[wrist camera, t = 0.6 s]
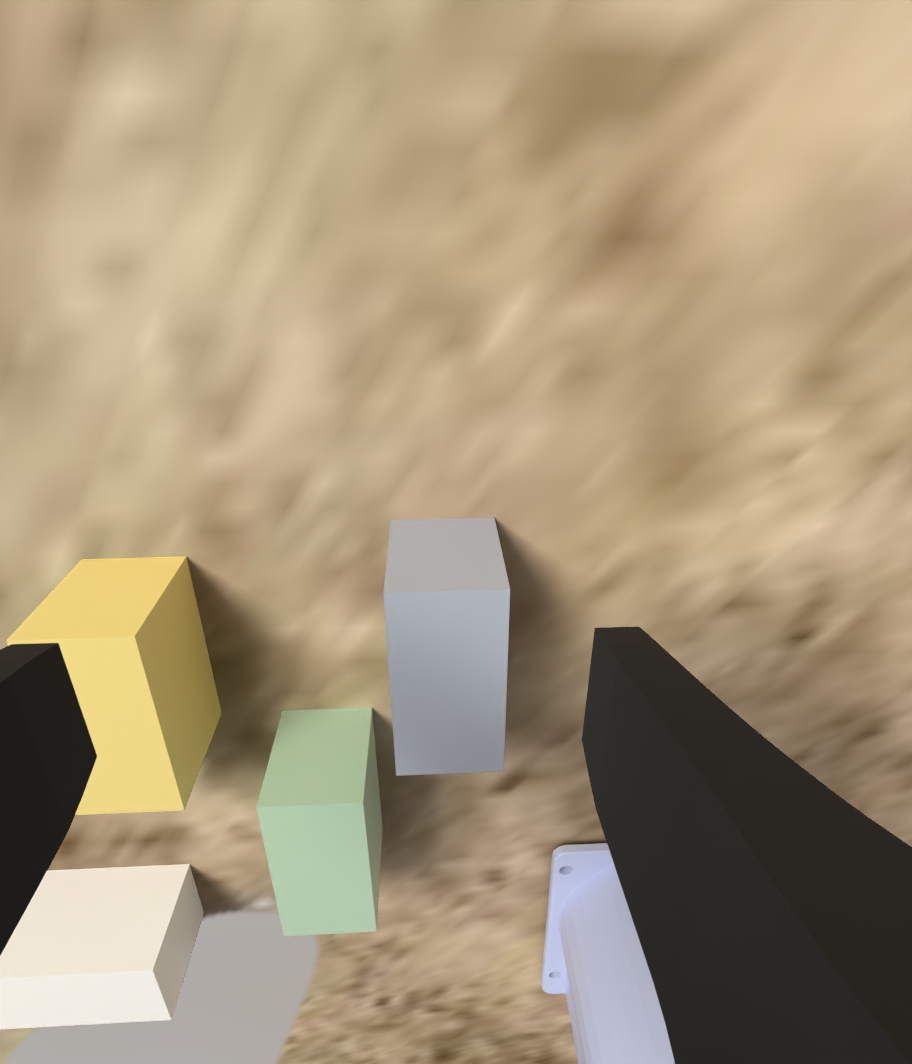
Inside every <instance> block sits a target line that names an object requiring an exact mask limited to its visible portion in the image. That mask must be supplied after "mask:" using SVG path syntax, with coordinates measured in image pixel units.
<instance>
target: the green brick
mask: <svg viewBox="0 0 912 1064" xmlns="http://www.w3.org/2000/svg"><path fill="white" fill-rule="evenodd" d="M256 808H257V813H258V818H259V822H260V827H261V832H262V837H263V841H264V846H265V851H266V855H267V860H268V865H269V869H270V874H271V879H272V884H273V888H274V893H275V898H276V902H277V907H278V912H279V916H280V921H281V926H282V931H283V935H284V936H297V935H316V934H335V933H354V932H373V931H377V915H378V898H379V882H380V865H381V848H382V832H383V827H382V816H381V804H380V793H379V781H378V770H377V758H376V747H375V735H374V724H373V712H372V707H369V708H343V709H316V710H290V711H282V713H281V717H280V721H279V725H278V728H277V732H276V736H275V740H274V743H273V747H272V751H271V754H270V758H269V762H268V766H267V769H266V773H265V777H264V781H263V784H262V788H261V792H260V796H259V799H258V803H257V807H256Z"/></svg>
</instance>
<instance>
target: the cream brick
mask: <svg viewBox="0 0 912 1064" xmlns="http://www.w3.org/2000/svg"><path fill="white" fill-rule="evenodd" d="M203 914H204V912H203V908H202V905H201V901H200V898H199V895H198V891H197V888H196V884H195V881H194V878H193V874H192V871H191V868H190V864H182V865H160V866H139V867H117V868H95V869H74V870H52V871H47V872H46V873H45V875H44V877H43V879H42V881H41V883H40V885H39V886H38V888H37V890H36V892H35V894H34V896H33V897H32V899H31V901H30V903H29V905H28V906H27V908H26V910H25V912H24V914H23V915H22V917H21V919H20V921H19V923H18V925H17V926H16V928H15V930H14V932H13V934H12V935H11V937H10V939H9V941H8V943H7V944H6V946H5V948H4V950H3V952H2V954H1V955H0V1029H14V1028H32V1027H50V1026H68V1025H86V1024H103V1023H104V1024H105V1023H123V1022H141V1021H160V1020H171V1019H172V1016H173V1012H174V1009H175V1006H176V1003H177V999H178V996H179V993H180V989H181V986H182V983H183V980H184V976H185V973H186V969H187V967H188V963H189V960H190V957H191V953H192V950H193V947H194V943H195V940H196V937H197V934H198V930H199V927H200V924H201V921H202V917H203Z"/></svg>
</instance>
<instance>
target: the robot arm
mask: <svg viewBox="0 0 912 1064" xmlns="http://www.w3.org/2000/svg"><path fill="white" fill-rule="evenodd" d="M582 742H583V747H584V752H585V757H586V763H587V768H588V773H589V778H590V782H591V787H592V792H593V796H594V801H595V806H596V810H597V813H598V816H599V819H600V823H601V826H602V829H603V832H604V835H605V838H606V841H607V843H595V844H574V845H562V846H559V847H557V848H556V849H555V850H554V851H553V854H552V864H551V875H550V886H549V898H548V909H547V920H546V931H545V943H544V954H543V965H542V976H541V983H542V989H543V990H544V991H545V992H546V993H549V994H560V993H566V998H567V1004H568V1009H569V1015H570V1020H571V1026H572V1032H573V1037H574V1043H575V1048H576V1054H577V1060H578V1064H912V847H911V846H909V845H908V844H906V843H905V842H903V841H902V840H900V839H899V838H897V837H896V836H894V835H893V834H892V833H890V832H889V831H887V830H886V829H884V828H883V827H881V826H880V825H878V824H877V823H875V822H874V821H873V820H871V819H870V818H868V817H867V816H865V815H864V814H863V813H861V812H860V811H859V810H857V809H856V808H854V807H853V806H852V805H850V804H849V803H847V802H846V801H845V800H843V799H842V798H841V797H839V796H838V795H837V794H835V793H834V792H833V791H831V790H830V789H829V788H827V787H826V786H825V785H824V784H822V783H821V782H820V781H818V780H817V779H816V778H815V777H813V776H812V775H811V774H809V773H808V772H807V771H806V770H804V769H803V768H802V767H800V766H799V765H798V764H797V763H795V762H794V761H793V760H791V759H790V758H789V757H788V756H786V755H785V754H784V753H783V752H781V751H780V750H779V749H778V748H776V747H775V746H774V745H773V744H772V743H770V742H769V741H768V740H767V739H765V738H764V737H763V736H762V735H761V734H759V733H758V732H757V731H756V730H755V729H753V728H752V727H751V726H750V725H749V724H747V723H746V722H745V721H744V720H743V719H742V718H740V717H739V716H738V715H737V714H736V713H735V712H734V711H732V710H731V709H730V708H729V707H728V706H727V705H725V704H724V703H723V702H722V701H721V700H720V699H719V698H717V697H716V696H715V695H714V694H713V693H712V692H711V691H710V690H708V689H707V688H706V687H705V686H704V685H703V684H702V683H701V682H700V681H698V680H697V679H696V678H695V677H694V676H693V675H692V674H691V673H690V672H689V671H687V670H686V669H685V668H684V667H683V666H682V665H681V664H680V663H679V662H678V661H676V660H675V659H674V658H673V657H672V656H671V655H670V654H669V653H668V652H667V651H666V650H664V649H663V648H662V647H661V646H660V645H659V644H658V643H657V642H656V641H655V640H654V639H652V638H651V637H650V636H649V635H648V634H647V633H646V632H644V631H643V630H642V629H641V628H640V627H613V628H595V632H594V641H593V649H592V658H591V666H590V675H589V684H588V692H587V701H586V710H585V718H584V727H583V735H582ZM96 758H97V754H96V751H95V748H94V745H93V743H92V740H91V737H90V734H89V731H88V728H87V725H86V722H85V719H84V716H83V713H82V710H81V708H80V705H79V702H78V699H77V696H76V693H75V690H74V687H73V684H72V681H71V678H70V675H69V672H68V670H67V667H66V664H65V661H64V658H63V655H62V652H61V649H60V646H59V643H38V644H11V645H9V646H7V647H5V648H3V649H1V650H0V955H1V954H2V952H3V950H4V948H5V946H6V944H7V943H8V941H9V939H10V937H11V935H12V934H13V932H14V930H15V928H16V926H17V925H18V923H19V921H20V919H21V917H22V915H23V914H24V912H25V910H26V908H27V906H28V905H29V903H30V901H31V899H32V897H33V896H34V894H35V892H36V890H37V888H38V886H39V885H40V883H41V881H42V879H43V877H44V875H45V873H46V872H47V870H48V868H49V866H50V864H51V862H52V860H53V859H54V857H55V855H56V853H57V851H58V849H59V847H60V845H61V844H62V842H63V840H64V838H65V836H66V834H67V832H68V830H69V828H70V826H71V823H72V821H73V818H74V816H75V813H76V811H77V808H78V806H79V804H80V801H81V799H82V796H83V794H84V791H85V788H86V786H87V783H88V780H89V777H90V775H91V772H92V769H93V767H94V764H95V761H96Z"/></svg>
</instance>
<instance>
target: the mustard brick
mask: <svg viewBox="0 0 912 1064" xmlns="http://www.w3.org/2000/svg"><path fill="white" fill-rule="evenodd" d="M6 641H7V644H8V646H9V645H11V644H38V643H59V646H60V649H61V652H62V655H63V658H64V661H65V664H66V667H67V670H68V672H69V675H70V678H71V681H72V684H73V687H74V690H75V693H76V696H77V699H78V702H79V705H80V708H81V710H82V713H83V716H84V719H85V722H86V725H87V728H88V731H89V734H90V737H91V740H92V743H93V745H94V748H95V751H96V754H97V758H96V761H95V764H94V767H93V769H92V772H91V775H90V777H89V780H88V783H87V786H86V788H85V791H84V794H83V796H82V799H81V801H80V804H79V806H78V808H77V811H76V813H75V815H84V814H107V813H131V812H154V811H178V810H185V807H186V804H187V802H188V799H189V797H190V794H191V791H192V789H193V786H194V784H195V781H196V778H197V776H198V773H199V771H200V768H201V766H202V763H203V760H204V758H205V755H206V753H207V750H208V747H209V745H210V742H211V740H212V737H213V734H214V732H215V729H216V727H217V724H218V722H219V719H220V716H221V714H222V712H221V708H220V703H219V699H218V694H217V690H216V685H215V681H214V676H213V672H212V668H211V663H210V659H209V654H208V650H207V645H206V641H205V636H204V632H203V628H202V623H201V619H200V614H199V610H198V605H197V601H196V597H195V592H194V588H193V583H192V579H191V574H190V570H189V565H188V561H187V557H186V556H184V557H150V558H115V559H82V560H81V561H80V562H79V563H78V564H77V565H76V566H75V567H74V568H73V569H72V570H71V572H70V573H69V574H68V575H67V576H66V577H65V578H64V579H63V580H62V581H61V582H60V583H59V584H58V586H57V587H56V588H55V589H54V590H53V591H52V592H51V593H50V594H49V595H48V596H47V597H46V598H45V599H44V601H43V602H42V603H41V604H40V605H39V606H38V607H37V608H36V609H35V610H34V611H33V612H32V613H31V615H30V616H29V617H28V618H27V619H26V620H25V621H24V622H23V623H22V624H21V625H20V626H19V627H18V629H17V630H16V631H15V632H14V633H13V634H12V635H11V636H10V637H9V638H8V639H7V640H6Z"/></svg>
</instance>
